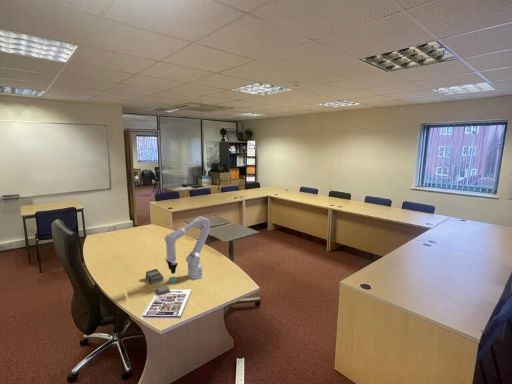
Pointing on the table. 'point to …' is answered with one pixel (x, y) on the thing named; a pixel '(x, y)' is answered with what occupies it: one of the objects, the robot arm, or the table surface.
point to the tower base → (164, 293)
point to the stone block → (154, 276)
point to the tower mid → (163, 289)
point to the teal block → (172, 280)
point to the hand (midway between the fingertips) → (172, 271)
